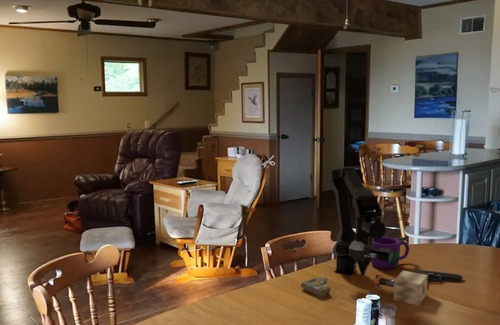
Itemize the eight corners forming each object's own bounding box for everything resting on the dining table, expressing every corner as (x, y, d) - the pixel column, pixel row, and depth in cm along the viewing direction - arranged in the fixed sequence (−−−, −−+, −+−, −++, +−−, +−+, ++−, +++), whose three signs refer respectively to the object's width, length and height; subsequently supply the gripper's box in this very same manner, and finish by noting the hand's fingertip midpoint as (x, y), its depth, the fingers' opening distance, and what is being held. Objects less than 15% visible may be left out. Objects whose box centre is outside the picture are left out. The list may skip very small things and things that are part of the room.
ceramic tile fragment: (335, 288, 157) (304, 289, 156) (335, 298, 157) (304, 299, 156) (326, 276, 169) (298, 277, 168) (326, 285, 169) (298, 286, 168)
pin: (374, 288, 161) (374, 276, 161) (378, 284, 165) (379, 272, 164) (411, 296, 155) (412, 283, 154) (415, 291, 158) (415, 279, 158)
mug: (381, 272, 181) (381, 246, 180) (363, 262, 192) (364, 238, 190) (418, 266, 187) (419, 241, 186) (399, 257, 198) (400, 233, 197)
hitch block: (393, 300, 155) (394, 279, 154) (402, 289, 164) (402, 270, 163) (419, 305, 151) (420, 284, 150) (426, 294, 159) (427, 275, 159)
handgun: (468, 287, 162) (462, 273, 174) (412, 280, 166) (409, 266, 178) (467, 295, 163) (461, 280, 174) (411, 288, 167) (408, 274, 178)
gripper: (329, 232, 162) (328, 277, 164) (384, 240, 152) (382, 288, 154) (341, 225, 171) (340, 267, 173) (394, 232, 161) (392, 277, 163)
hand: (363, 275), depth 165 cm, fingers closed
